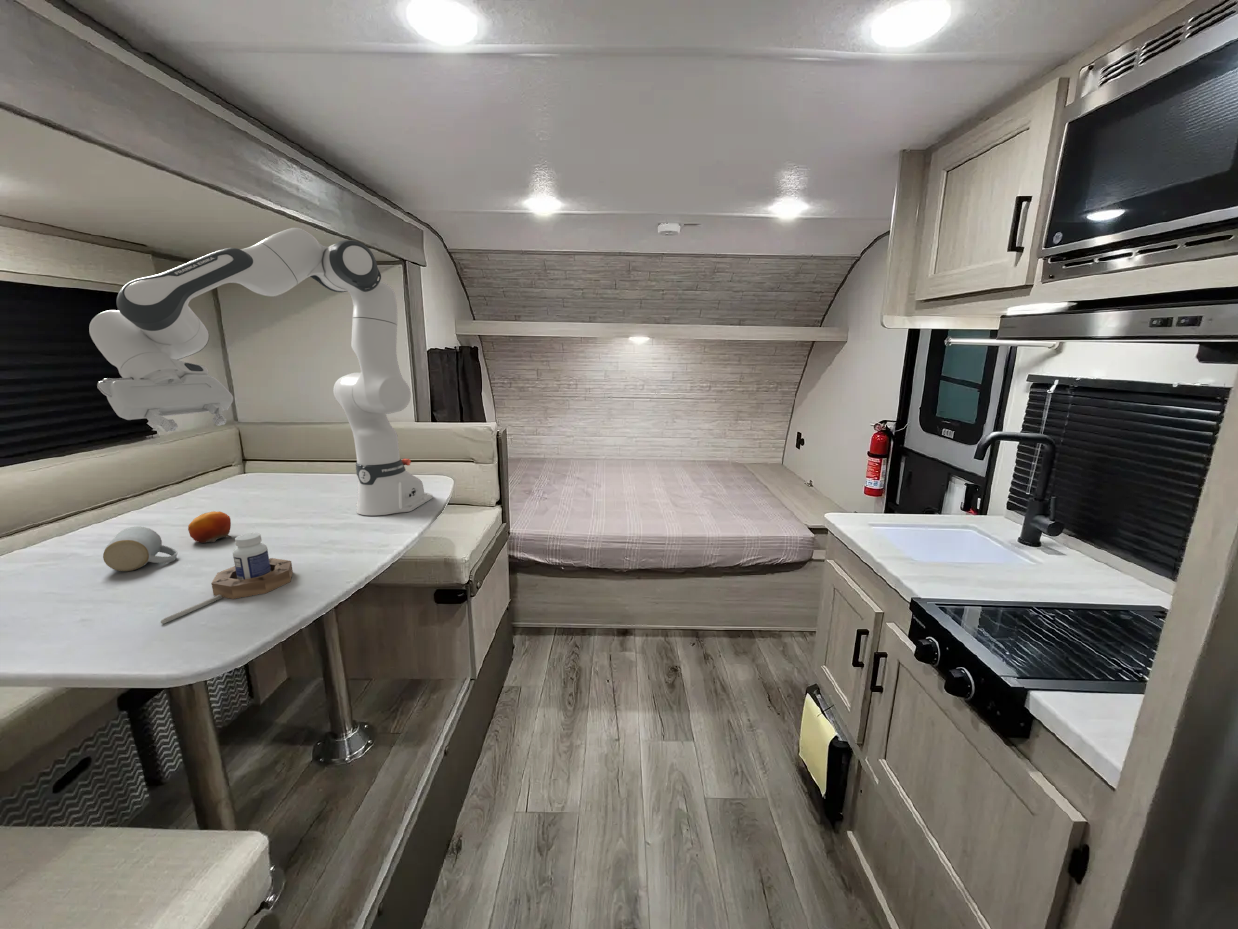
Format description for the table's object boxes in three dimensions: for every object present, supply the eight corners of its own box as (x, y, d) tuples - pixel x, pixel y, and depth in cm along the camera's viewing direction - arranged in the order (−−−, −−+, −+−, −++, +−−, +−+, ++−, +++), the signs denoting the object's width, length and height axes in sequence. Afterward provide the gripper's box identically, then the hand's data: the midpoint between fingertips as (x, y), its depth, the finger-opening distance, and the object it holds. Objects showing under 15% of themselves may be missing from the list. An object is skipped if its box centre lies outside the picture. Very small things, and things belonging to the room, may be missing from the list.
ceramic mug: (103, 576, 99) (96, 540, 98) (118, 562, 106) (111, 528, 104) (172, 566, 104) (166, 532, 103) (182, 553, 111) (176, 521, 110)
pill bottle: (276, 575, 100) (269, 530, 98) (266, 587, 95) (258, 539, 93) (245, 579, 98) (237, 532, 96) (233, 591, 93) (224, 542, 91)
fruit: (215, 541, 114) (195, 512, 113) (195, 555, 116) (175, 527, 116) (247, 529, 122) (229, 502, 121) (228, 543, 124) (209, 516, 123)
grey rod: (219, 598, 90) (218, 594, 90) (222, 598, 90) (221, 594, 90) (159, 624, 82) (159, 620, 81) (163, 625, 81) (162, 620, 81)
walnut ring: (261, 567, 104) (259, 556, 103) (306, 574, 100) (304, 562, 100) (199, 593, 92) (197, 580, 92) (247, 601, 89) (245, 589, 88)
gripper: (96, 367, 91) (144, 421, 91) (213, 365, 111) (252, 410, 110) (86, 391, 94) (132, 444, 93) (202, 385, 113) (241, 429, 112)
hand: (198, 426), depth 102 cm, fingers open, 8 cm apart
